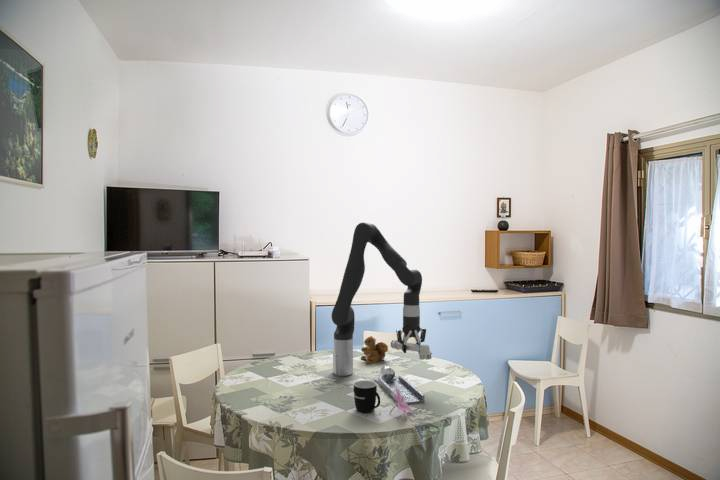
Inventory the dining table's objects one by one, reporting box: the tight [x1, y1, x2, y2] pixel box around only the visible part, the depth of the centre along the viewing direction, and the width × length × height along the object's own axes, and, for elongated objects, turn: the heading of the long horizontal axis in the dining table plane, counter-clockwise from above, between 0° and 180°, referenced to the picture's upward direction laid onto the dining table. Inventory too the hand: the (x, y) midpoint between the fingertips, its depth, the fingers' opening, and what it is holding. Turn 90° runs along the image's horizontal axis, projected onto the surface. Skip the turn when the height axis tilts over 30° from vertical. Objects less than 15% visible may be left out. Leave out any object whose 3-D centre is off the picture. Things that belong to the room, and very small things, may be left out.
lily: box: [389, 385, 413, 420], centre depth 170 cm, size 12×12×10 cm
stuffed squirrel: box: [360, 335, 389, 364], centre depth 242 cm, size 10×14×13 cm
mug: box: [353, 379, 381, 414], centre depth 173 cm, size 12×9×10 cm
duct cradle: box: [374, 365, 426, 405], centre depth 196 cm, size 32×11×6 cm, turn 16°
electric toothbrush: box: [390, 339, 433, 360], centre depth 202 cm, size 5×7×25 cm
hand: (411, 351), depth 202 cm, fingers closed on electric toothbrush, 5 cm apart
